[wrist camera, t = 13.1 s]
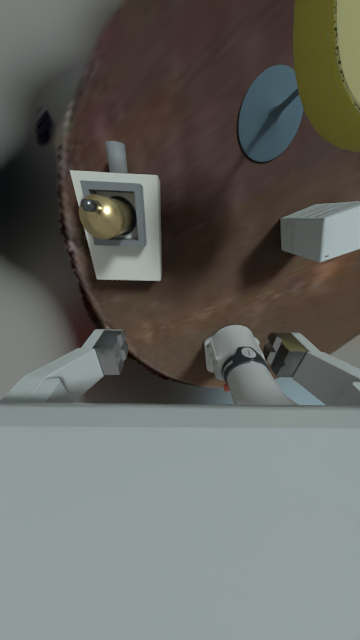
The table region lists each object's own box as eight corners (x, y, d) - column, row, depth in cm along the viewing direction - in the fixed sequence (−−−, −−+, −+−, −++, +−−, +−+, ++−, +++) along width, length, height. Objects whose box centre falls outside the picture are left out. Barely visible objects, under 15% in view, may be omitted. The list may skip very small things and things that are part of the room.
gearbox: (162, 272, 42) (159, 285, 34) (106, 271, 41) (91, 284, 33) (159, 152, 30) (154, 132, 22) (80, 147, 29) (47, 124, 21)
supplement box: (312, 239, 39) (364, 248, 28) (280, 250, 40) (318, 264, 29) (315, 203, 35) (377, 198, 24) (279, 217, 36) (324, 218, 25)
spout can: (135, 232, 31) (115, 243, 20) (108, 232, 31) (74, 242, 20) (131, 200, 28) (107, 192, 18) (102, 199, 28) (59, 190, 17)
